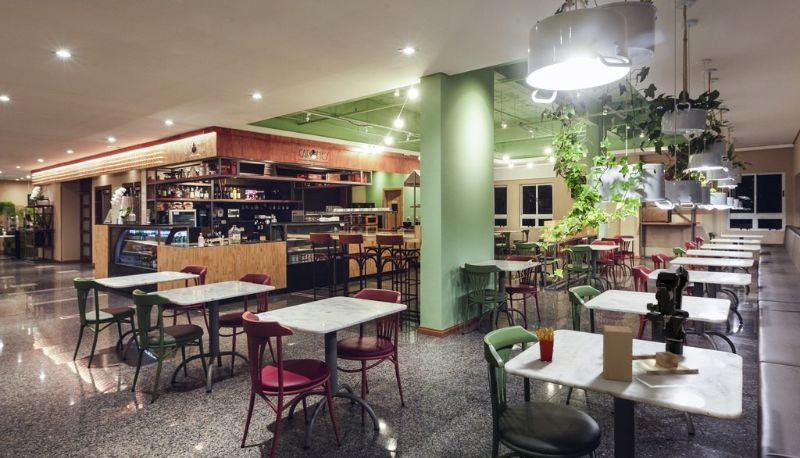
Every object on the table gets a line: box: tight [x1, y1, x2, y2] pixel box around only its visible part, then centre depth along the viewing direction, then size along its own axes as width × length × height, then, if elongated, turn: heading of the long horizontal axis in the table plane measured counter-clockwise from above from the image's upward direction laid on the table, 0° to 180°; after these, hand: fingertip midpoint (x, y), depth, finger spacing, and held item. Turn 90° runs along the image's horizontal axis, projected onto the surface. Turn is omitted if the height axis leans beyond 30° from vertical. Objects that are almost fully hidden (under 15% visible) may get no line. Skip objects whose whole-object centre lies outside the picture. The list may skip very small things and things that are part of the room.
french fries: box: [535, 326, 555, 363], centre depth 211 cm, size 9×8×15 cm
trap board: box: [632, 353, 700, 376], centre depth 198 cm, size 22×20×2 cm
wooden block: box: [602, 324, 634, 383], centre depth 188 cm, size 10×10×20 cm
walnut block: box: [655, 351, 679, 368], centre depth 199 cm, size 6×6×5 cm
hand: (667, 334), depth 202 cm, fingers open, 9 cm apart
